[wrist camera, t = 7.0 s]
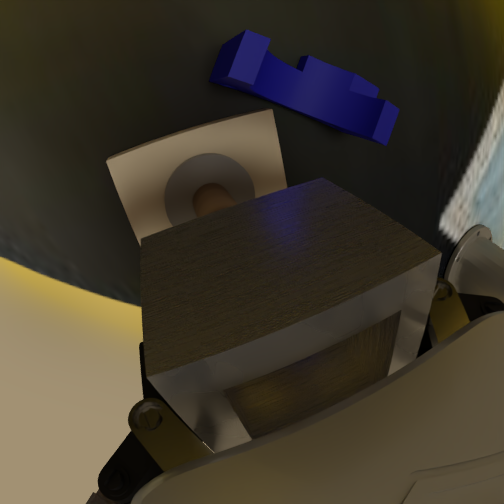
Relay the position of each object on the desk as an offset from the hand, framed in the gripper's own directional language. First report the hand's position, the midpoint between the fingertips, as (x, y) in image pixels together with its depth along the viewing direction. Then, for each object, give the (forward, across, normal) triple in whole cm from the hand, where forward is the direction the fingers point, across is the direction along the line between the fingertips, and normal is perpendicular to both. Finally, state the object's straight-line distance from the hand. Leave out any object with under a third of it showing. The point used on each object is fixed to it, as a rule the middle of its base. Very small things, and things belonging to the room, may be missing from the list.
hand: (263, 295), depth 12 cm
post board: (+14, 0, 0) cm, 14 cm away
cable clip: (+14, -9, -7) cm, 18 cm away
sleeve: (+1, 0, 0) cm, 1 cm away
